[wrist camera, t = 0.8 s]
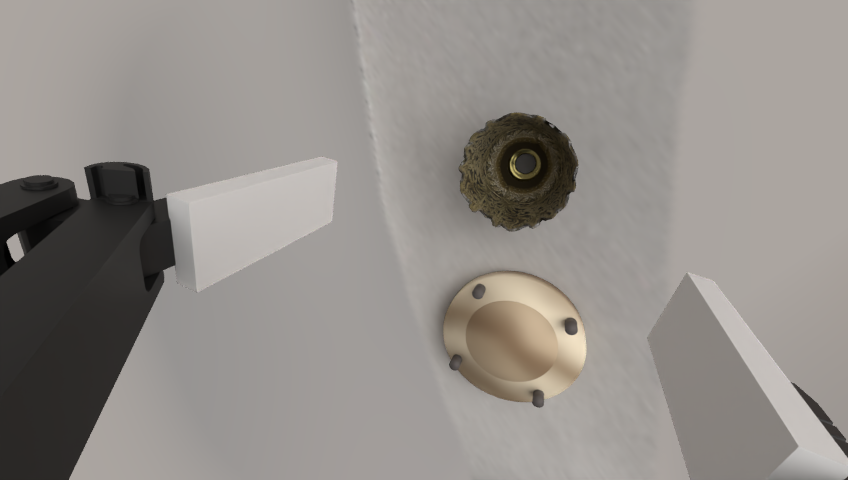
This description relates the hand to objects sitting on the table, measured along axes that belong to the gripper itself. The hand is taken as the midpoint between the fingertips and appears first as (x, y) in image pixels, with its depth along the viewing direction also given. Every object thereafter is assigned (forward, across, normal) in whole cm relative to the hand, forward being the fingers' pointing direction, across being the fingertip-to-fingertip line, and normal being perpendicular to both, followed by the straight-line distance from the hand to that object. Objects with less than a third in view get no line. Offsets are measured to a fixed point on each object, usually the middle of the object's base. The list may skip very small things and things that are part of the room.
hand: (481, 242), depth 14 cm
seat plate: (+18, -3, +16) cm, 24 cm away
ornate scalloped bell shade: (+19, 0, 0) cm, 19 cm away
